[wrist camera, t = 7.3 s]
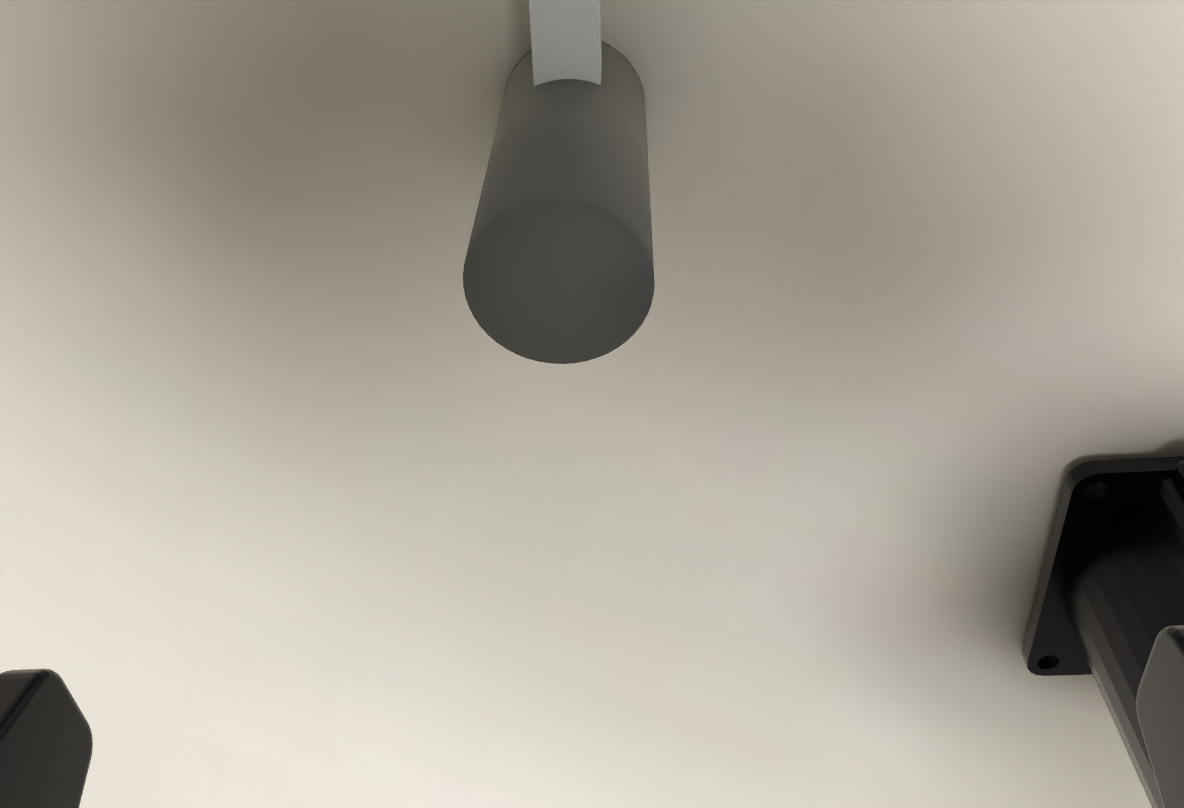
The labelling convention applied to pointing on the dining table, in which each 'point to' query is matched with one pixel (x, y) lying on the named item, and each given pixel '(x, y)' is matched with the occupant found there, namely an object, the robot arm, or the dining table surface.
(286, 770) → the dining table surface
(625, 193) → the block
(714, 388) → the dining table surface
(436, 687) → the dining table surface
